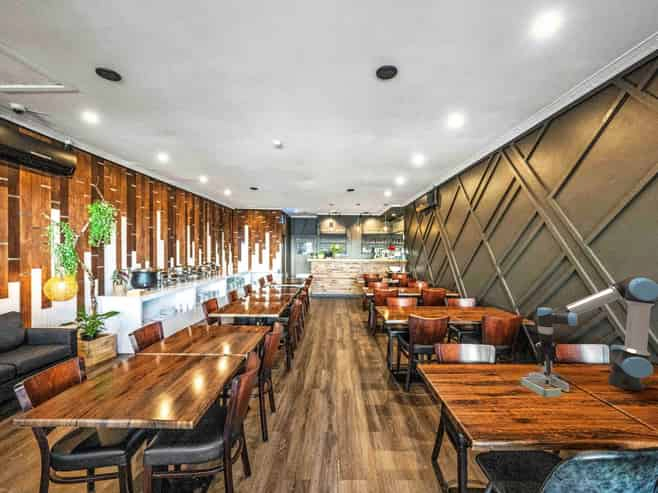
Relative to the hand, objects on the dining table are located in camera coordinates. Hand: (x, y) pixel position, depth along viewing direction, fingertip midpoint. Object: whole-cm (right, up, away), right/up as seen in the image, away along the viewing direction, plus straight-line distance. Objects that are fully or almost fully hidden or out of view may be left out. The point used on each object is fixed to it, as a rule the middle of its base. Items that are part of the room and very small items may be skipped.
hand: (547, 371), depth 183 cm
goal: (-14, -5, -13) cm, 20 cm away
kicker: (+1, -5, -6) cm, 8 cm away
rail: (-3, -6, 0) cm, 7 cm away
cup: (-13, -6, -12) cm, 18 cm away
